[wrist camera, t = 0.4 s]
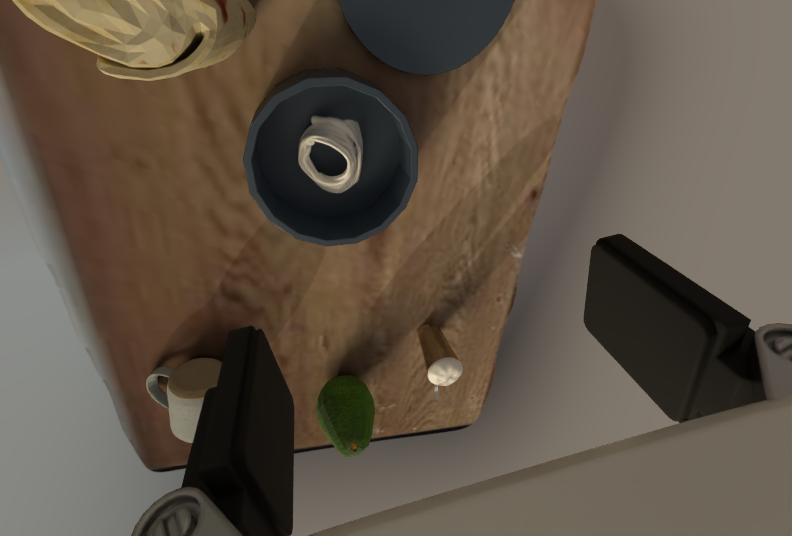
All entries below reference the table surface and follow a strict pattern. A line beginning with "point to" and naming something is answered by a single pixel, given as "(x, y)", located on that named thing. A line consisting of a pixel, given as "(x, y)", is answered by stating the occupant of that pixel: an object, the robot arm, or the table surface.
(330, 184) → the whipped cream
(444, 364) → the milkshake
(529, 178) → the table surface
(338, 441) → the avocado
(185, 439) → the ceramic mug
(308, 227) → the pot
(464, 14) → the pot lid
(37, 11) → the food model
